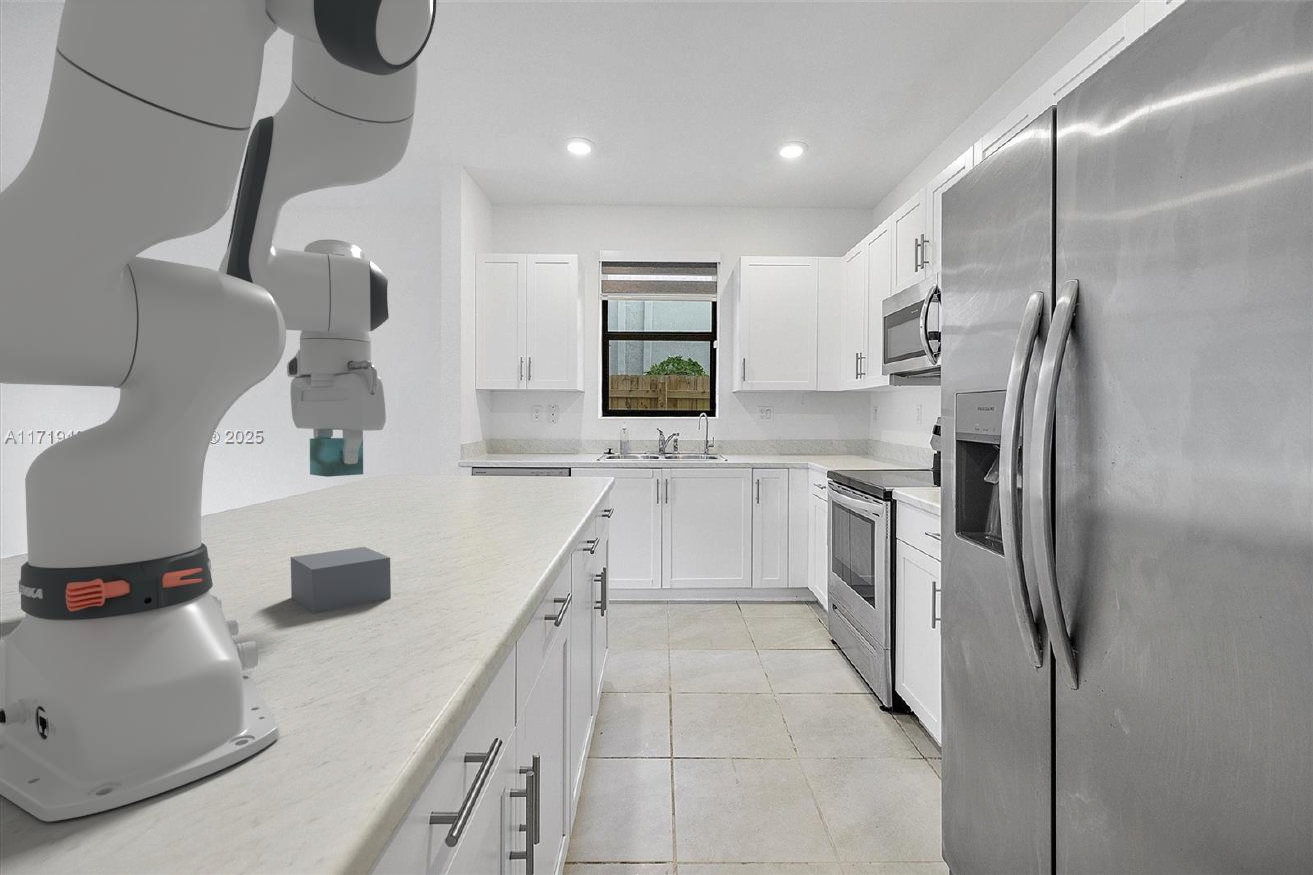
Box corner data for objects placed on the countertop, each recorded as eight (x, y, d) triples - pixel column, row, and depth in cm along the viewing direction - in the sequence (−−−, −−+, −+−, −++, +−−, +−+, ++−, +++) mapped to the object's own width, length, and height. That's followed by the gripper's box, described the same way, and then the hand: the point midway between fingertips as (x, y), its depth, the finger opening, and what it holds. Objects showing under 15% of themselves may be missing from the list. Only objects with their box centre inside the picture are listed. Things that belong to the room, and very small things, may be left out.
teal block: (363, 474, 89) (363, 438, 89) (326, 476, 85) (326, 439, 85) (345, 472, 92) (345, 437, 92) (309, 474, 88) (309, 438, 88)
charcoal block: (390, 599, 89) (390, 557, 89) (312, 615, 83) (312, 569, 82) (365, 586, 97) (364, 546, 96) (291, 599, 90) (290, 557, 90)
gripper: (397, 361, 84) (398, 464, 85) (326, 367, 97) (327, 458, 98) (350, 357, 79) (351, 467, 80) (281, 365, 92) (283, 460, 93)
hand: (337, 462), depth 89 cm, fingers closed on teal block, 5 cm apart
